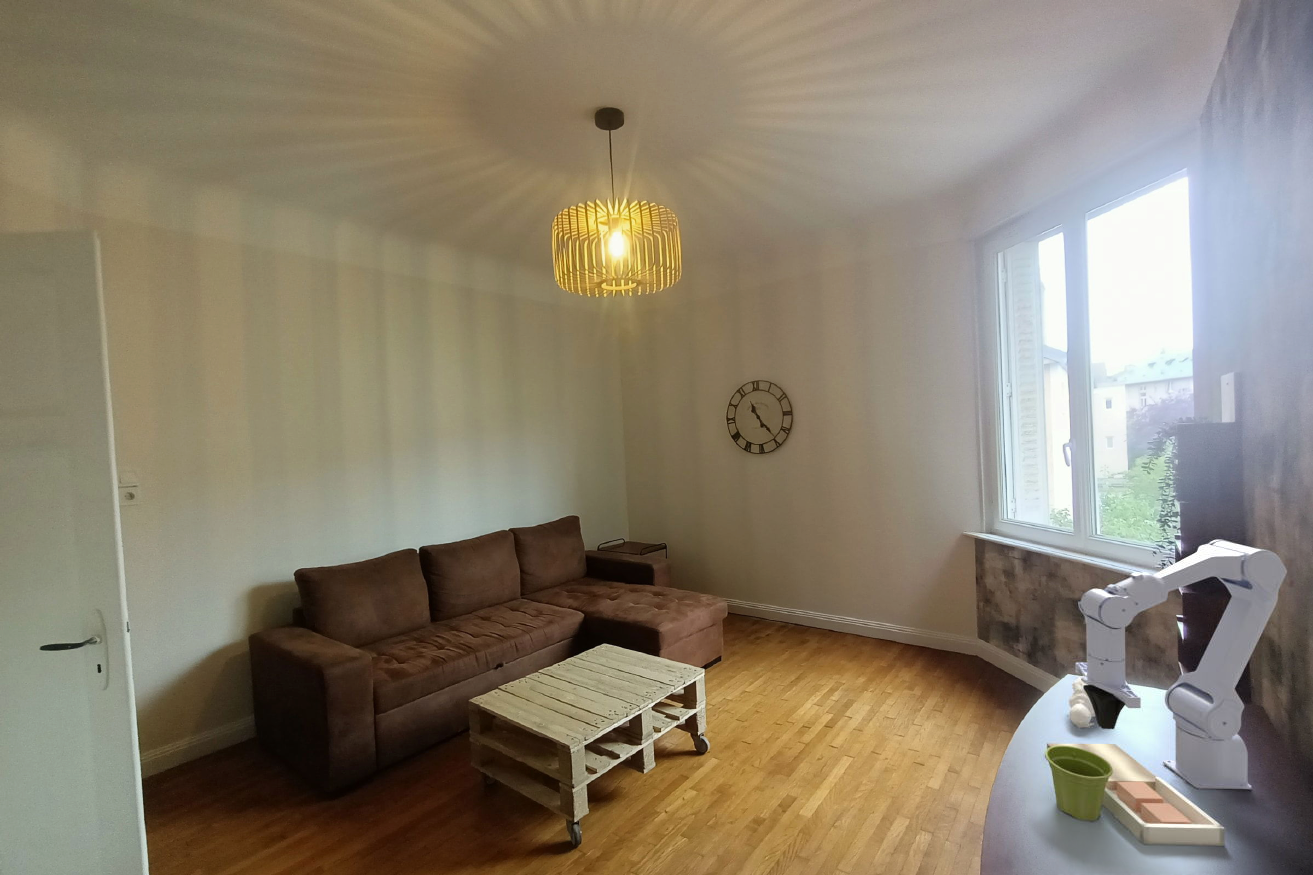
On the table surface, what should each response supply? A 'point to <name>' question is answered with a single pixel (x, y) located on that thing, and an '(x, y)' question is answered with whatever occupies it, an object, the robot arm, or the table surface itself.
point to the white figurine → (1080, 705)
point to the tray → (1168, 834)
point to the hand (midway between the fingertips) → (1106, 727)
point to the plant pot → (1078, 780)
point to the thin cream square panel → (1117, 764)
